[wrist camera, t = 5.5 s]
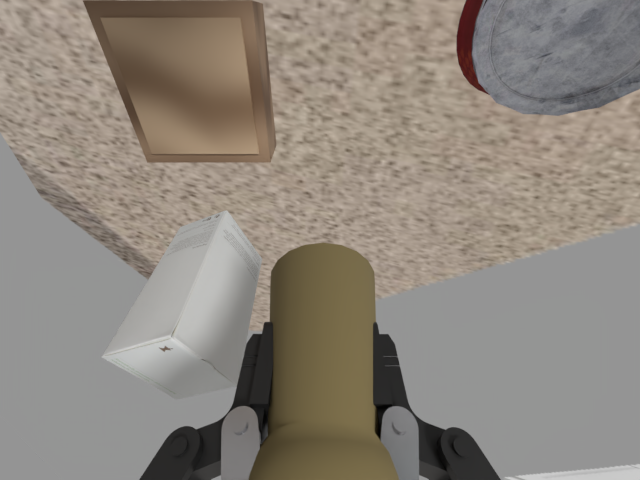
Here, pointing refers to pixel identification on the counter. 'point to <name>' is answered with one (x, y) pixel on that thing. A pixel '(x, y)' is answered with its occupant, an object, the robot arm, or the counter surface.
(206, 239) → the skincare box
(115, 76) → the base
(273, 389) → the olive knobbed peg
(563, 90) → the canned food
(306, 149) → the counter surface
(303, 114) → the counter surface
